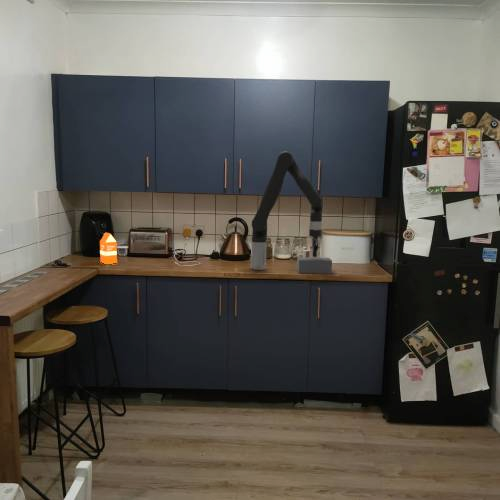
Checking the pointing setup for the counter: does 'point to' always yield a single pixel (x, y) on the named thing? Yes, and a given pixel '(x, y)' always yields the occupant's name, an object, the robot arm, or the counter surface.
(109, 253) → the orange juice
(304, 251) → the small box
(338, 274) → the counter surface
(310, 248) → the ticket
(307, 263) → the dispenser
